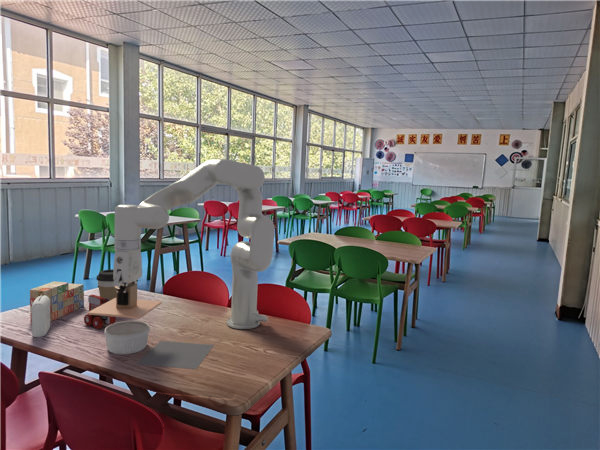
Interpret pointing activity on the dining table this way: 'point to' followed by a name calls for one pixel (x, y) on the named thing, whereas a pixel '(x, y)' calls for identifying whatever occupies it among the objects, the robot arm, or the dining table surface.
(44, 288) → the stack of blocks
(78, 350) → the dining table surface
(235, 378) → the dining table surface
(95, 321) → the toy fire truck
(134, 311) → the cover
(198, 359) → the mat
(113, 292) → the coffee cup
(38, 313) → the photo printer
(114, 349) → the ramekin
